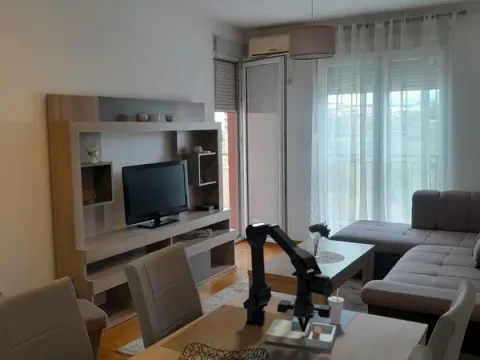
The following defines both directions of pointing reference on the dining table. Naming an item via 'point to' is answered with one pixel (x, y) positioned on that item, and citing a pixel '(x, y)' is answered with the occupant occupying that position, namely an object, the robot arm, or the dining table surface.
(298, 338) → the board
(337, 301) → the smoothie
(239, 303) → the dining table surface
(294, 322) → the tile back
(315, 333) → the tile front
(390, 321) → the dining table surface
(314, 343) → the tray
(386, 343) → the dining table surface
